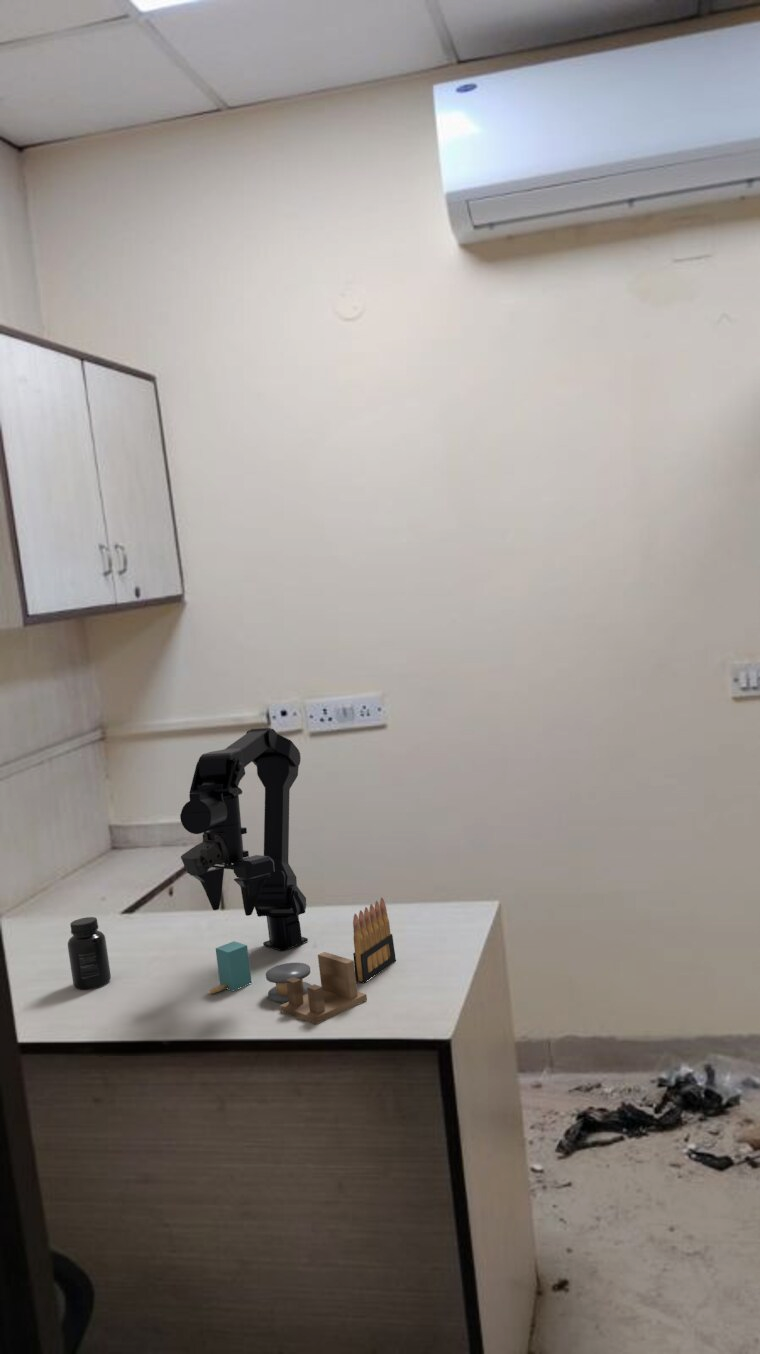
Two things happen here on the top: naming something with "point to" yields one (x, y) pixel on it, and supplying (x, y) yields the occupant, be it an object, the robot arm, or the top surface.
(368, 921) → the ammunition clip
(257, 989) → the top surface
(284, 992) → the spool
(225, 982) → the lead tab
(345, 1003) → the notch board
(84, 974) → the supplement bottle
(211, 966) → the top surface
